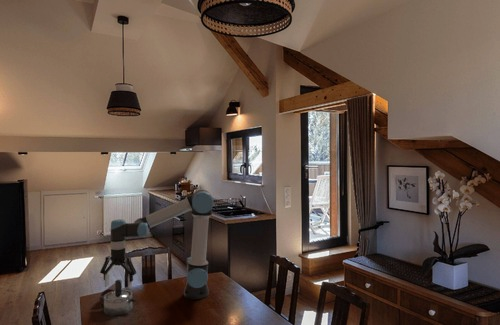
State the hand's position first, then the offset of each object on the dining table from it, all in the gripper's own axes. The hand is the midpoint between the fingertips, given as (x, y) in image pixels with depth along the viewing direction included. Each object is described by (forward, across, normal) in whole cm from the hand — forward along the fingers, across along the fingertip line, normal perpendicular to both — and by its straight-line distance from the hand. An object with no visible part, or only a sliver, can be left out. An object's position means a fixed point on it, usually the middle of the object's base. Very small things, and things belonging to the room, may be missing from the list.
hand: (118, 286), depth 190 cm
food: (+13, +11, -15) cm, 22 cm away
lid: (+6, 0, 0) cm, 6 cm away
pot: (+13, 0, 0) cm, 13 cm away
